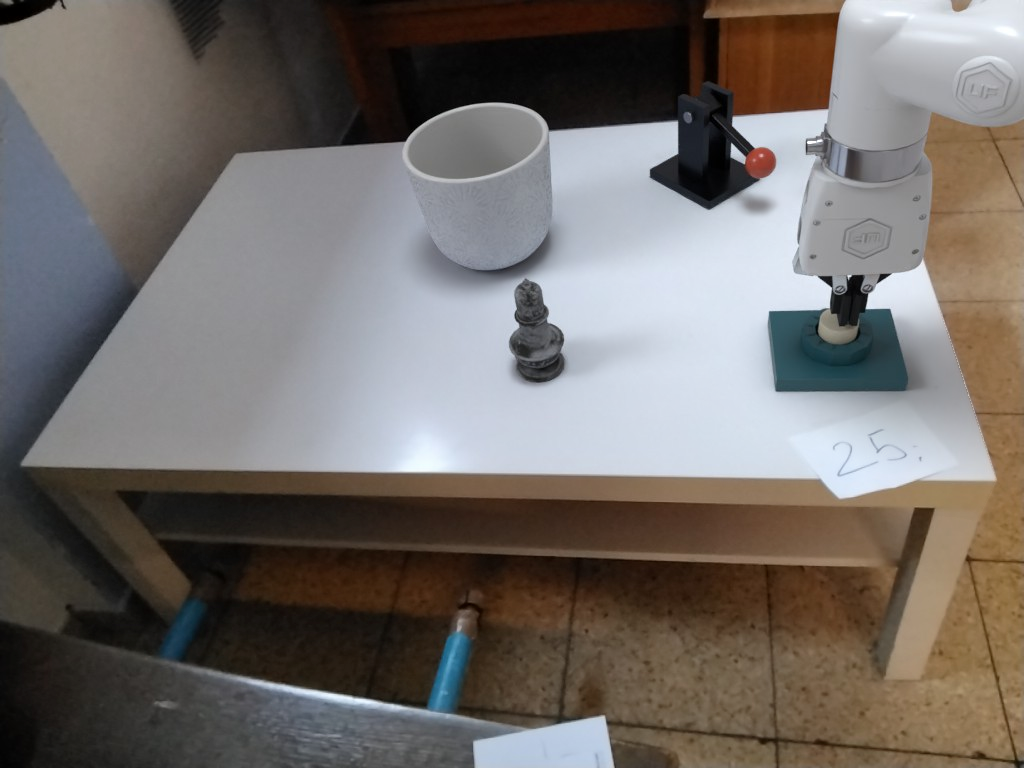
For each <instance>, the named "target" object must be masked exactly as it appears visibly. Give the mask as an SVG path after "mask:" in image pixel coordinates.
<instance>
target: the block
mask: <svg viewBox="0 0 1024 768" xmlns="http://www.w3.org/2000/svg"><path fill="white" fill-rule="evenodd" d="M827 309H830V307H823V308H821V309H809V310H808V309H805V310H804V309H803V310H799V309H798V310H769V311H768V315H767V317H768V318H767V327H768V336H769V347H770V354H771V362H772V371H773V381H774V389H775V392H900V391H901V392H903V391H904V392H905V391H907V387H908V383H909V380H910V378H909V375H908V371H907V367H906V363H905V359H904V356H903V351H902V348H901V343H900V340H899V336H898V332H897V329H896V325H895V321H894V317H893V313H892V309H891V308H866V311H865V313H859V326H858V331H857V335H856V338H855V339H854V340H853V341H852V342H850V343H847V344H843V345H835V344H831V343H828V342H826V341H824V340H823V339H822V338H821V337H820V336H819V333H818V327H819V321H820V316H821V314H822V313H823V312H824V311H826V310H827Z"/></svg>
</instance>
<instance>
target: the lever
mask: <svg viewBox="0 0 1024 768" xmlns="http://www.w3.org/2000/svg"><path fill="white" fill-rule="evenodd" d="M693 98H694V99H697V100H699V101H701V102H703V103H706V104H708V105H710V109H709V123H710V122H711V123H712V124H713V125H714V126H715V127H716V128H717V129H718V130H719V131H720V132H721V133H722V134H723V135H724V136H725V137H726V138H727V139H728V140H729V141H730V142H731V145H733V146H734V147H735V148H736V149H737V150H738V151H739V152H740V153H741V155H743V157H745V160H744V164H745V168H746V171H747V172H748V174H749V175H750V176H752V177H754V178H759V180H761V179H766V178H767V177H769V176H771V174H773V173H774V171H775V170H776V167H777V156H776V155H775V152H774V151H772V150H771V149H770V148H768V147H765V146H762V147H761V146H759V147H754V145H752V144H751V143H750V142H749V140H747V139H746V138H745V137H744V136H743V135H742V134H741V133H740V132H739V131H738V130H737V129H736V128H735V127H734V126H733V124H732V125H731V124H730V123H729V122H728V121H727V120H726V119H725V118H724V117H723V116H722V115H721V114H720V113H719V111H720V109H721V107H722V104H721V103H720V102H719V101H718V100H717V99H716V98H715V97H714V96H713V95H712V94H711V93H710V92H709V91H708V90H707V91H705V92H703V93H702V92H701V93H699V94H698V95H695V96H694V97H693Z"/></svg>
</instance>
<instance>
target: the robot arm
mask: <svg viewBox="0 0 1024 768" xmlns="http://www.w3.org/2000/svg"><path fill="white" fill-rule="evenodd" d="M837 21H838V22H837V29H836V37H835V46H834V57H833V64H832V73H831V82H830V91H829V101H828V110H827V118H826V119H827V120H826V122H825V123H824V126H823V127H824V128H823V131H821V133H820V135H816V136H815V137H809V138H805V147H804V148H805V155H806V156H813V155H814V156H815V158H814V162H813V164H812V166H811V169H810V172H809V175H808V179H807V182H806V185H805V190H804V194H803V198H802V203H801V207H800V213H799V219H798V225H797V233H796V234H797V235H796V240H797V245H798V247H797V249H796V251H795V254H794V256H793V259H792V261H791V262H792V263H791V264H792V270H793V273H795V274H796V275H801V276H802V275H803V276H809V277H814V276H815V277H817V278H818V279H819V280H821V281H822V282H824V283H825V284H826V285H828V287H830V288H831V290H830V298H829V308H830V311H831V314H837V318H838V323H839V327H841V326H845V325H847V324H848V323H849V325H851V326H857V325H858V319H859V313H865V311H866V309H867V304H868V300H869V294H871V293H872V292H874V291H875V289H876V286H877V285H878V284H880V283H881V282H882V281H884V280H886V279H887V278H888V277H890V276H891V275H893V274H899V273H906V272H910V271H913V270H915V269H916V268H918V267H919V266H920V265H921V263H922V262H923V259H924V255H925V251H926V246H927V240H928V234H929V226H930V217H931V210H932V209H931V208H932V199H933V198H932V197H933V165H932V162H931V160H930V159H929V157H928V156H927V154H926V153H925V147H926V143H927V138H928V135H929V134H928V133H929V127H930V123H931V118H932V113H934V114H936V115H940V116H943V117H945V118H948V119H950V120H954V121H956V122H959V123H963V124H968V125H969V126H975V127H984V128H997V127H999V128H1000V127H1005V126H1010V125H1013V124H1017V123H1019V122H1021V121H1022V120H1024V0H971V1H970V2H969V4H968V5H967V7H966V9H962V10H960V11H956V10H954V8H953V3H952V0H845V1H844V2H843V4H842V6H841V9H840V11H839V16H838V20H837Z"/></svg>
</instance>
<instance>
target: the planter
mask: <svg viewBox="0 0 1024 768" xmlns="http://www.w3.org/2000/svg"><path fill="white" fill-rule="evenodd" d="M550 147H551V146H550V129H549V126H548V123H547V121H546V120H545V119H544V118H543V117H542V116H541V115H540V114H539V113H538V112H536V111H535V110H533V109H532V108H528V107H525V106H523V105H519V104H515V103H514V104H513V103H507V102H484V103H483V102H482V103H474V104H469V105H464V106H459V107H456V108H453V109H450V110H447V111H444V112H442V113H440V114H437V115H436V116H434V117H432V118H430V119H428V120H427V121H425V122H423V123H422V124H421V125H419V126H418V127H417V128H415V130H413V132H412V133H410V135H409V136H408V138H407V139H406V141H405V142H404V145H403V147H402V151H401V156H402V157H401V158H402V162H403V164H404V167H405V170H406V173H407V176H408V179H409V182H410V184H411V187H412V189H413V192H414V194H415V198H416V200H417V203H418V206H419V209H420V212H421V215H422V217H423V220H424V222H425V225H426V228H427V230H428V233H429V236H430V238H431V239H432V241H433V243H434V244H435V246H436V247H437V248H438V250H439V251H440V252H441V253H442V254H443V255H444V256H446V258H448V260H450V261H451V262H454V263H456V264H457V265H460V266H462V267H465V268H467V269H470V270H476V271H495V270H501V269H505V268H509V267H512V266H514V265H516V264H519V263H521V262H523V261H524V260H526V259H527V258H529V257H530V256H531V255H532V254H533V253H534V252H535V251H537V249H538V248H539V247H540V246H541V245H542V243H543V242H544V240H545V238H546V236H547V234H548V232H549V229H550V226H551V222H552V217H553V216H552V215H553V188H552V187H553V186H552V185H553V184H552V167H551V148H550Z"/></svg>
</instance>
